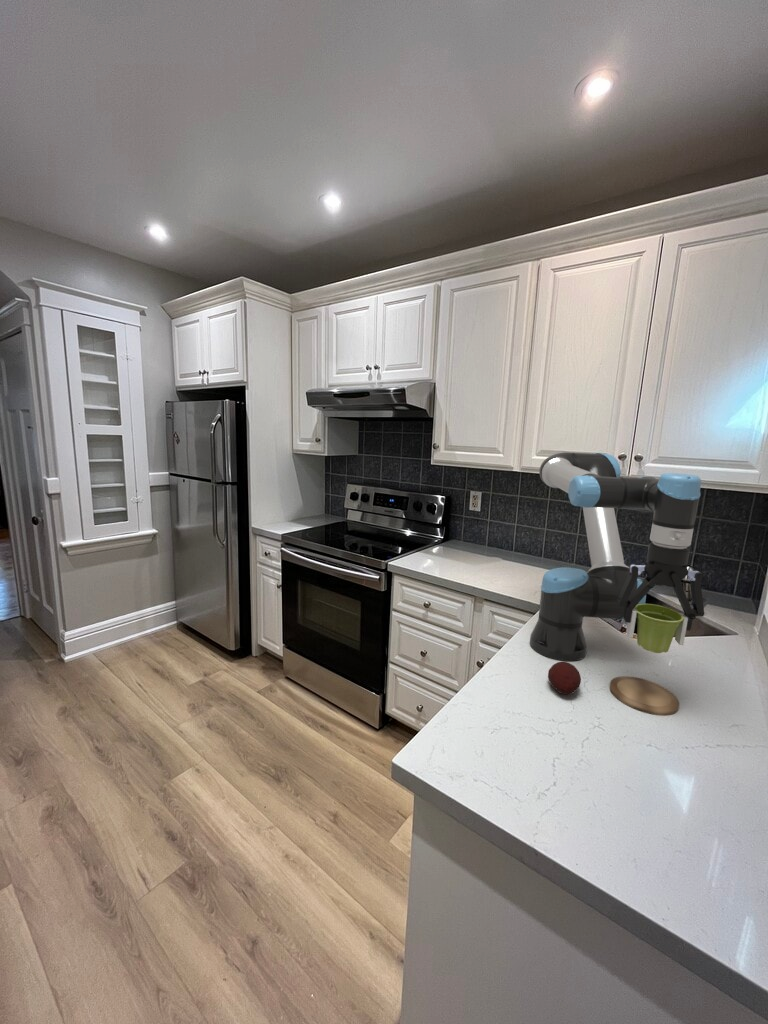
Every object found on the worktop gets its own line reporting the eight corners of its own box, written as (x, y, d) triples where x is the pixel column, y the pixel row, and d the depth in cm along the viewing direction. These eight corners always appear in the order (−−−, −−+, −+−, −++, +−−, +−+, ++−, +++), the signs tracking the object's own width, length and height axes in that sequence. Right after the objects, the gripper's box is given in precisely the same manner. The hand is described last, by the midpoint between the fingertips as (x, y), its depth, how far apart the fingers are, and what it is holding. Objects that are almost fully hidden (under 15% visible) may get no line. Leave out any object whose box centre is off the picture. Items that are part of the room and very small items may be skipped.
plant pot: (678, 662, 91) (685, 625, 89) (628, 649, 95) (633, 613, 94) (675, 644, 98) (682, 610, 97) (629, 633, 103) (634, 600, 102)
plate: (617, 707, 95) (618, 703, 95) (603, 675, 108) (604, 671, 108) (689, 720, 91) (689, 716, 91) (665, 686, 105) (666, 681, 104)
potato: (576, 681, 105) (579, 658, 104) (582, 704, 96) (585, 679, 95) (545, 675, 108) (548, 653, 107) (548, 697, 98) (550, 673, 97)
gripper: (617, 543, 92) (604, 638, 96) (737, 554, 86) (717, 655, 90) (609, 535, 99) (597, 624, 103) (720, 545, 93) (702, 638, 97)
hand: (653, 638), depth 97 cm, fingers closed on plant pot, 9 cm apart
